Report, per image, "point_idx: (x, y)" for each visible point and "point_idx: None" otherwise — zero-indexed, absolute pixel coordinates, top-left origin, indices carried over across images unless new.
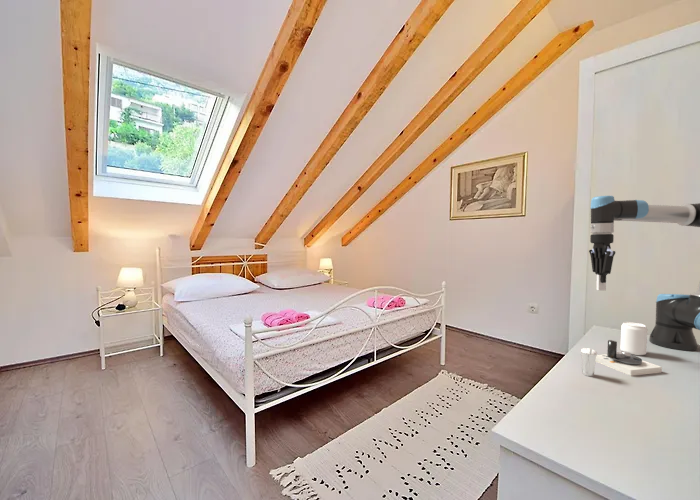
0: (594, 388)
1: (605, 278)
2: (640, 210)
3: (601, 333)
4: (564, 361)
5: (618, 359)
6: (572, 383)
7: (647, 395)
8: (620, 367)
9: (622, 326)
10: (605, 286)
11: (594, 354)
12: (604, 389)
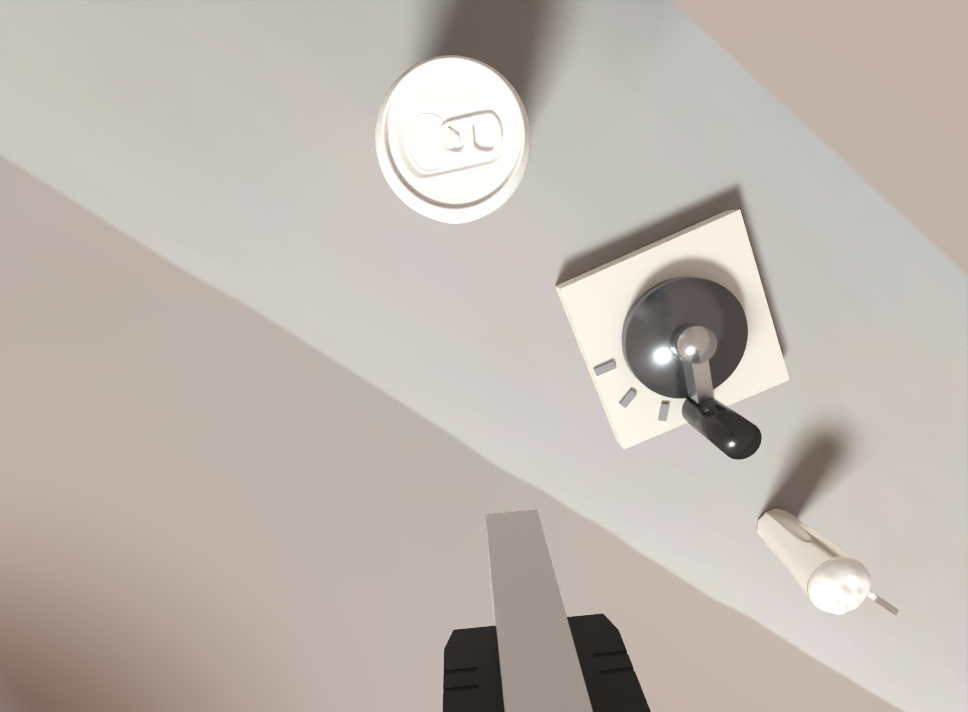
0: (883, 552)
1: (637, 691)
2: None
3: (57, 128)
4: (646, 554)
5: (714, 387)
6: None
7: (931, 414)
8: (744, 395)
9: (448, 221)
10: (546, 549)
11: (869, 576)
12: (890, 526)
